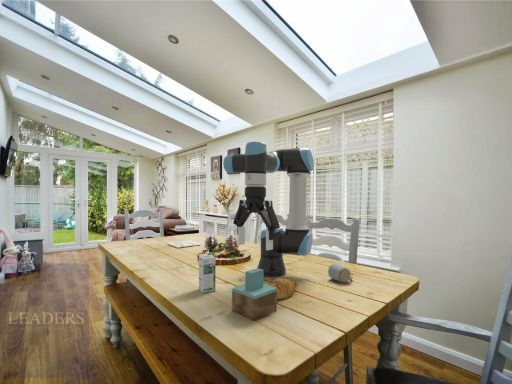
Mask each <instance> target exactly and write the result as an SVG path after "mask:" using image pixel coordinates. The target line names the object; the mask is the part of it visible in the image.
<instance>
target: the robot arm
mask: <svg viewBox="0 0 512 384" xmlns="http://www.w3.org/2000/svg"><path fill="white" fill-rule="evenodd" d="M244 149H245V150H244V151H245V152H244V153H242V154H240V153H239V154H228V155H226V156H224V159H223V165H222V166H223V169H224V171H225V172H226V173H228V174H243V173H244V186H245V187H244V197H245V198H246V199H239V201H238V202H239V203H238V207H237V211H236V214H235V216H234V218H233V222H232V225H235V226H236V228H237V229H236V234H237V245H238V246H241V245H245V244H246V243H245V242H246V240H245V239H246V226H245V223H246V222H247V220H248V219H249V217H250V215H251V214H258V215H259V216H260V217H261V220H262V221H263V223H264V225H265V227H266V228H265V229H262V230H261V232H260V238H259V239H260V259H259V261H258V265H257V268H258V269H262V270H264V277H281V276H285V275H286V274H287V267H286V264H285V261H284V258H283V257H284V255H292V256H298V257H299V256H308V255H309V253H310V252H311V250H312V246H313V240H314V238H313V233H312V232H310V228H309V227H308V226H307V186H308V185H307V184H308V183H307V180H308V179H307V178H308V177H309V176H310V174H311V171H313V170H314V164H315V163H314V158H313V153H312V151H311V149H310V148H309V147H297V148H294V147H293V148H286V149H285V148H284V149H283V148H282V149H277V150H272V151H268V149H267V144H266V143H265V142H263V141H248V142H247V143H246V144H245V148H244ZM276 172H286V175H287V177H289V194H288V195H289V197H288V199H289V200H288V201H289V203H288V225H286V227H285V230H284V228H283V227H280V223H279V221H278V217H277V215H276V212H275V209H274V206H273V200H271V199H268V200H265V198H266V197H267V188H266V186H267V174H269V173H270V174H273V173H276ZM257 268H256V269H257Z"/></svg>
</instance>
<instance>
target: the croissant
mask: <svg viewBox="0 0 512 384" xmlns="http://www.w3.org/2000/svg"><path fill="white" fill-rule="evenodd" d="M297 284H298V283H297V282H296V281H294V280H290V279H288V278H287V277H279V278H275V279H273V280H272V281H271V282H270V284H269V286H272V287H275V288H277V301H278V300H284V299H288V298H289V297H291V296H292V295H293V293H294V292H295V290H296V289H297Z"/></svg>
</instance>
